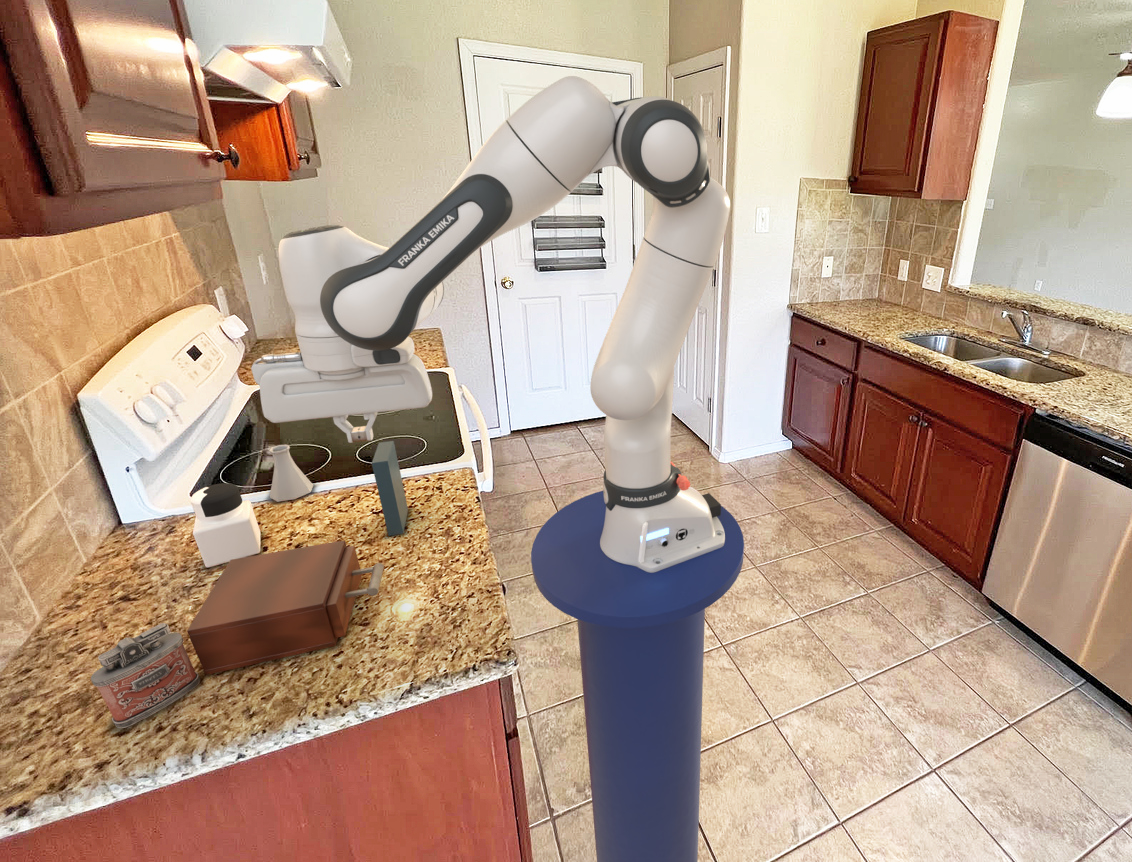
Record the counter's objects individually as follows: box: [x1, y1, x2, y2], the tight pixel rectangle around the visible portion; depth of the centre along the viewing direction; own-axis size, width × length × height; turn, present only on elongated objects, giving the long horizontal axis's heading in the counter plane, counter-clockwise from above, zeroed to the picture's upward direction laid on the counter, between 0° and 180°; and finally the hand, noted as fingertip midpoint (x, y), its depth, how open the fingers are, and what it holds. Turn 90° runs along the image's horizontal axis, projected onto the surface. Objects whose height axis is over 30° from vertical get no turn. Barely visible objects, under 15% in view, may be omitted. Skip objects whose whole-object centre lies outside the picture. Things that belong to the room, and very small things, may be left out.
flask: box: [268, 443, 314, 502], centre depth 112 cm, size 7×7×10 cm
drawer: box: [326, 545, 385, 638], centre depth 83 cm, size 18×13×6 cm
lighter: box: [90, 622, 201, 729], centre depth 69 cm, size 8×3×10 cm, turn 151°
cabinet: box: [186, 539, 348, 676], centre depth 82 cm, size 15×15×8 cm
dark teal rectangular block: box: [371, 440, 409, 537], centre depth 103 cm, size 2×8×15 cm, turn 21°
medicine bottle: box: [190, 482, 261, 568], centre depth 95 cm, size 7×7×12 cm
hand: (361, 440), depth 83 cm, fingers closed
